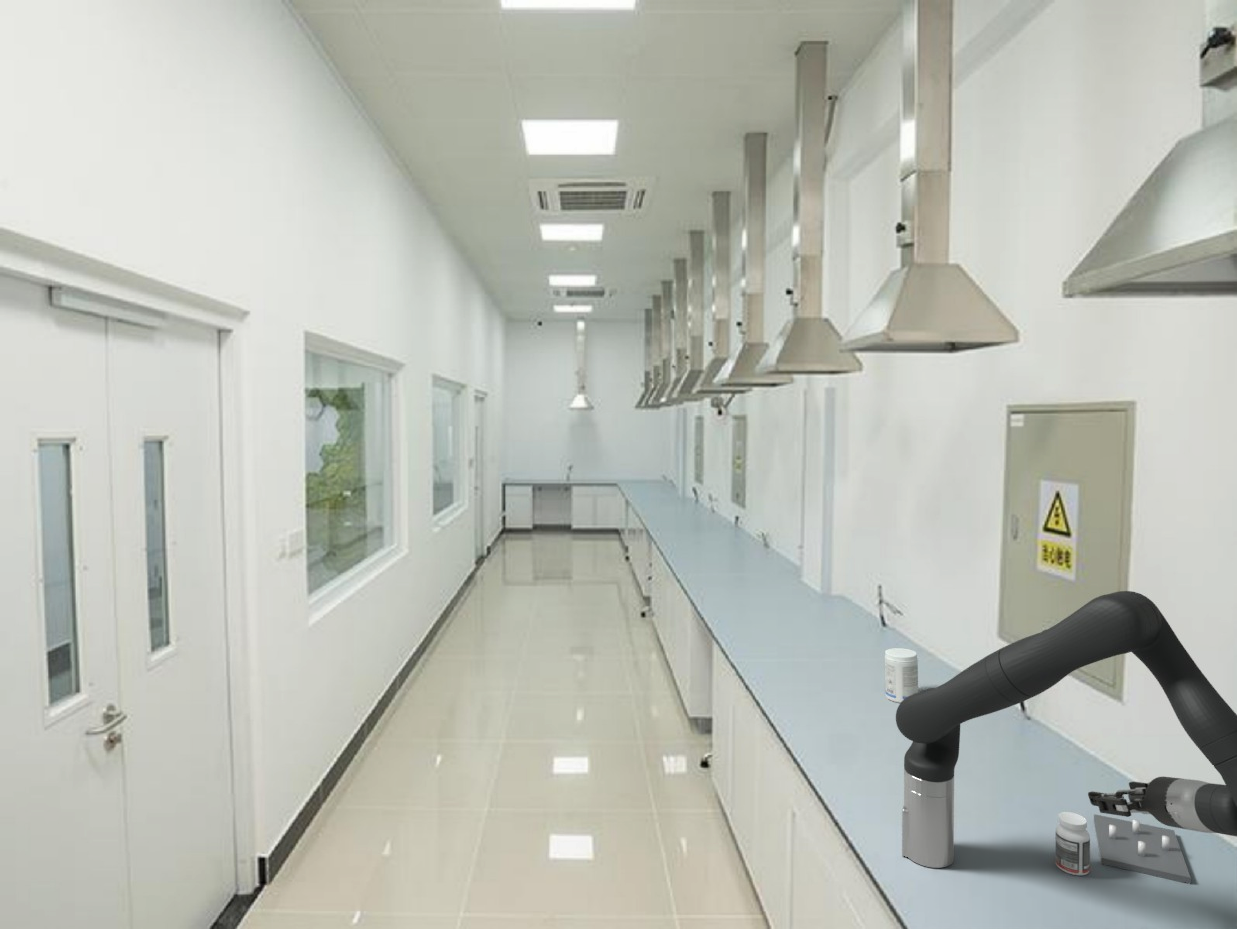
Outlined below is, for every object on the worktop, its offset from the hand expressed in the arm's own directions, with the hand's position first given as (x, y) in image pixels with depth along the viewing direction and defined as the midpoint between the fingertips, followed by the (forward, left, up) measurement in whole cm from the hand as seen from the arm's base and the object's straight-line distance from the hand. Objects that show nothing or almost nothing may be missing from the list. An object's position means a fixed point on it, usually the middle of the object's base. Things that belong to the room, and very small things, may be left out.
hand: (1111, 792), depth 133 cm
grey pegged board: (+7, +21, -20) cm, 30 cm away
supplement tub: (-47, +85, -20) cm, 100 cm away
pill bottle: (-5, +8, -20) cm, 22 cm away
